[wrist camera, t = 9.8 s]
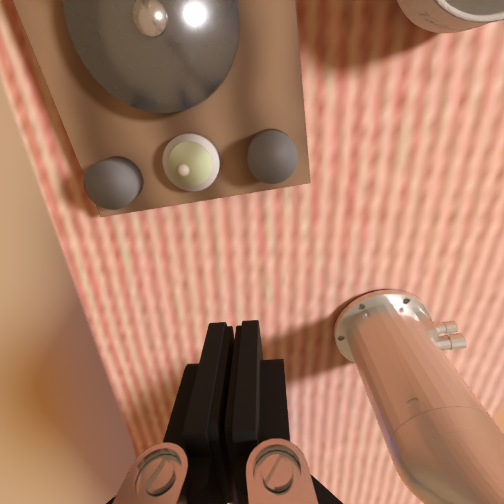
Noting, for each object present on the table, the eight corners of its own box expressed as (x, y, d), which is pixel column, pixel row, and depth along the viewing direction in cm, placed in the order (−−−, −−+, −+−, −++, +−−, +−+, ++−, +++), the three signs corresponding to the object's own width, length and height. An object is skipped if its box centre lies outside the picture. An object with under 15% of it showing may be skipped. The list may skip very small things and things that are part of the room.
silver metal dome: (41, -42, 24) (-21, -81, 18) (200, -124, 22) (183, -196, 16) (127, 132, 29) (99, 141, 24) (261, 80, 27) (262, 76, 22)
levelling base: (281, -111, 24) (288, -164, 19) (306, 177, 34) (315, 191, 29) (11, -47, 25) (-47, -80, 21) (110, 209, 35) (87, 228, 30)
